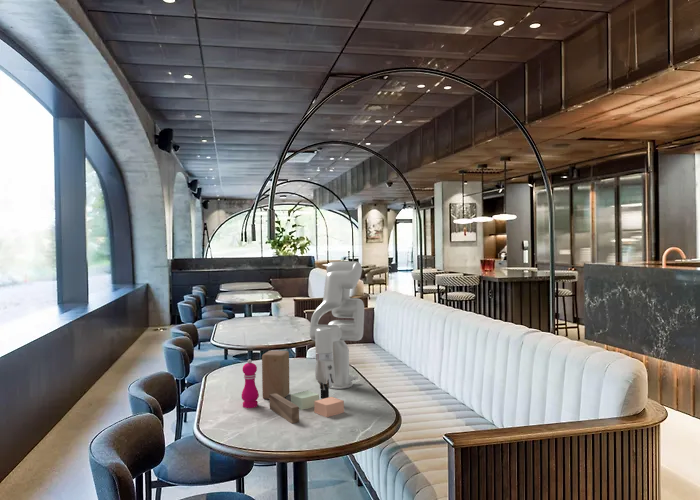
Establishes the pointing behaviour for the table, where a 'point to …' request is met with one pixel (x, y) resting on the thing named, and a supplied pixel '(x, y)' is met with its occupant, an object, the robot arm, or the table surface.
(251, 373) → the pepper mill
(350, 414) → the table surface
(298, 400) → the sage block
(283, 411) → the walnut board
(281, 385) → the wooden block
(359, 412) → the table surface
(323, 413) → the terracotta block
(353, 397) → the table surface
